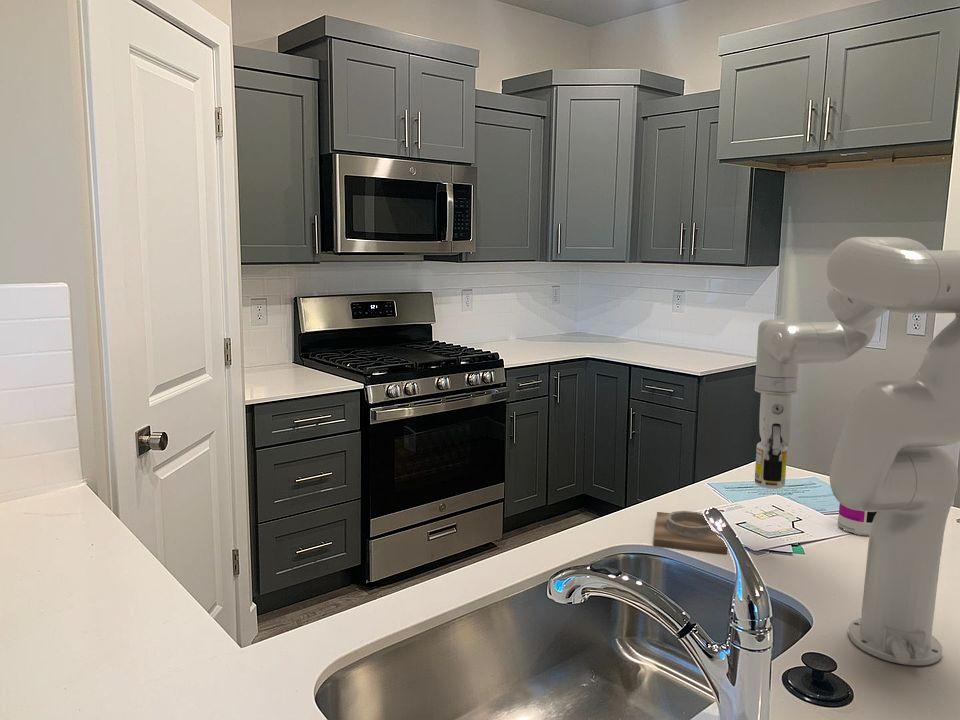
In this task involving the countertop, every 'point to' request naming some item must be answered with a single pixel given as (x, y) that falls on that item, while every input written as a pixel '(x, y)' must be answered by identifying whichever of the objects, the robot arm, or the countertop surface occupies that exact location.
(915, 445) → the robot arm
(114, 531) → the countertop surface
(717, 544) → the collar board
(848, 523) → the supplement can
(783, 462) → the supplement bottle
